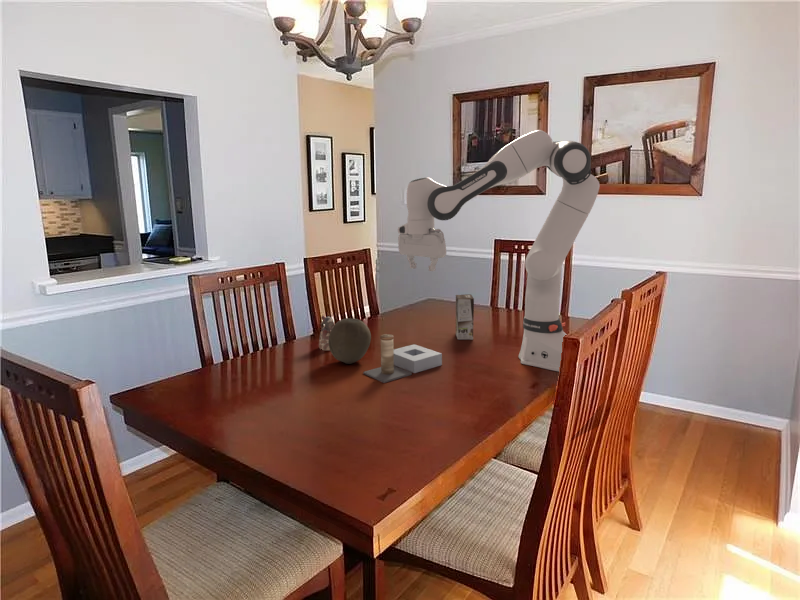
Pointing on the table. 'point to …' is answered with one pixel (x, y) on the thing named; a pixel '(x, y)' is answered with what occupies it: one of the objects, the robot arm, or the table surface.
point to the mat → (386, 378)
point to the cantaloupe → (349, 340)
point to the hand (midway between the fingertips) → (422, 269)
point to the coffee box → (464, 316)
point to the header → (416, 358)
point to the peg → (387, 354)
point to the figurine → (325, 332)
